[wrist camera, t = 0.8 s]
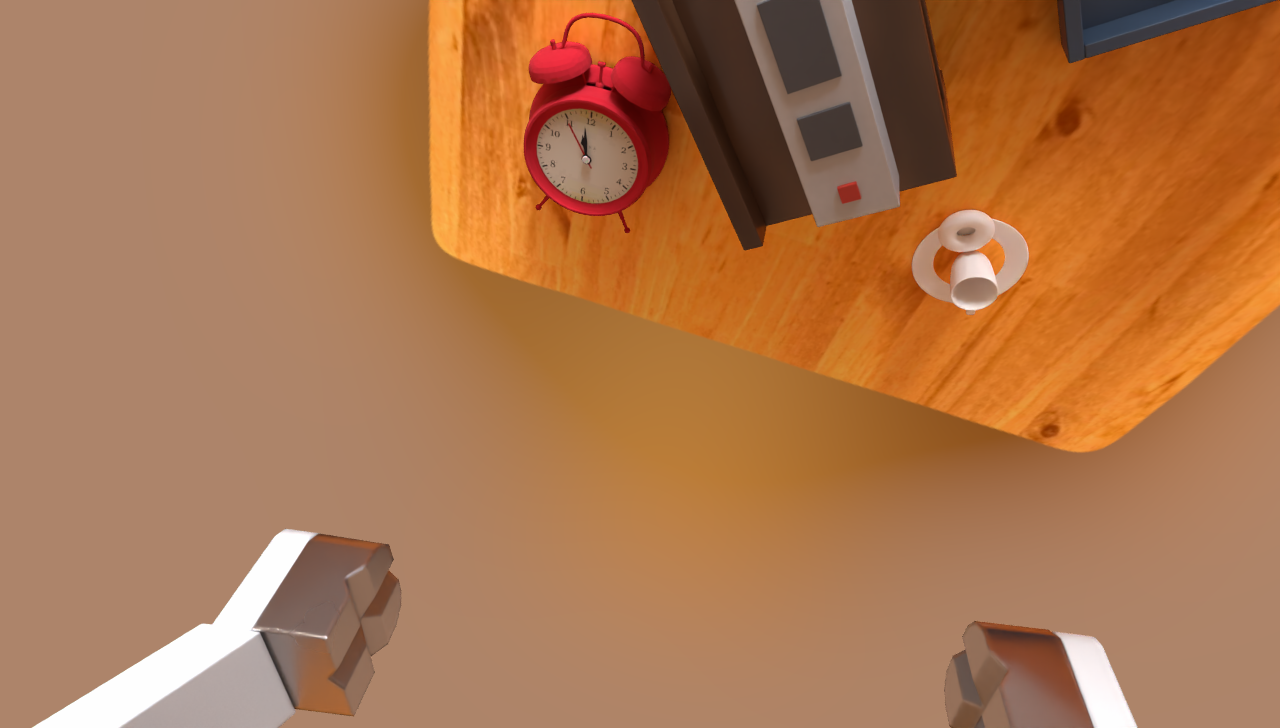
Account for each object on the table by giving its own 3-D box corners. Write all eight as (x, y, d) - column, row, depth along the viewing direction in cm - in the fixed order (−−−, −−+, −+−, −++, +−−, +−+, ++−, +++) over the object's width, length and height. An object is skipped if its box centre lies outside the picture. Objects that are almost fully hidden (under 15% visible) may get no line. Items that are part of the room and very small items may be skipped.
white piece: (942, 193, 52) (945, 226, 49) (1055, 219, 51) (1065, 254, 48) (895, 285, 58) (896, 319, 55) (995, 309, 58) (1001, 345, 55)
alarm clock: (515, 214, 56) (497, 46, 43) (540, 156, 59) (531, -16, 46) (646, 247, 56) (668, 87, 43) (664, 187, 59) (691, 21, 46)
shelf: (881, -218, 36) (881, -162, 28) (946, 92, 46) (959, 198, 38) (666, -108, 42) (615, -35, 34) (765, 148, 52) (743, 250, 44)
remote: (725, -71, 34) (715, -48, 31) (820, -115, 32) (816, -93, 29) (820, 197, 42) (817, 230, 40) (899, 176, 40) (900, 209, 38)
